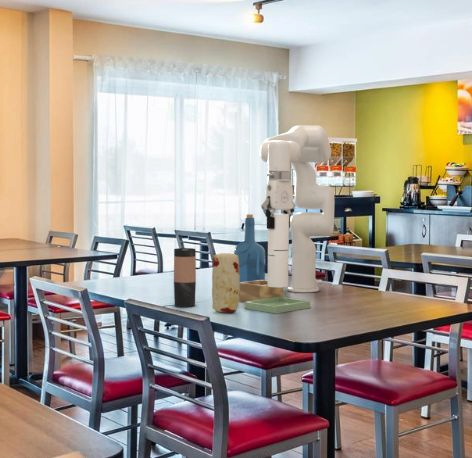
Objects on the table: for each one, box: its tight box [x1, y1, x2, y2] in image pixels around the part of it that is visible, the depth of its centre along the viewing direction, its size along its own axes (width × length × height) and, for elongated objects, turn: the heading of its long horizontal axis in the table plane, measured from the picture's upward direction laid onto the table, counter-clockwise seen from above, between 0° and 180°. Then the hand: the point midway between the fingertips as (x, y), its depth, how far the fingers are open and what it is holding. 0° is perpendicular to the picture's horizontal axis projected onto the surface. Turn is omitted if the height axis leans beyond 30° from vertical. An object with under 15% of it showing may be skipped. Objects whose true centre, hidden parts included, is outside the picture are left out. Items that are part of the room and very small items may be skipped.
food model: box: [211, 252, 240, 314], centre depth 261 cm, size 10×7×20 cm
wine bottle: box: [233, 213, 266, 282], centre depth 328 cm, size 14×13×30 cm
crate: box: [238, 279, 284, 304], centre depth 285 cm, size 12×12×7 cm
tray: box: [244, 296, 311, 314], centre depth 271 cm, size 18×15×2 cm
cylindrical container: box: [267, 213, 290, 288], centre depth 270 cm, size 7×7×25 cm
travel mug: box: [173, 247, 197, 308], centre depth 274 cm, size 8×8×20 cm
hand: (278, 227), depth 269 cm, fingers closed on cylindrical container, 7 cm apart
